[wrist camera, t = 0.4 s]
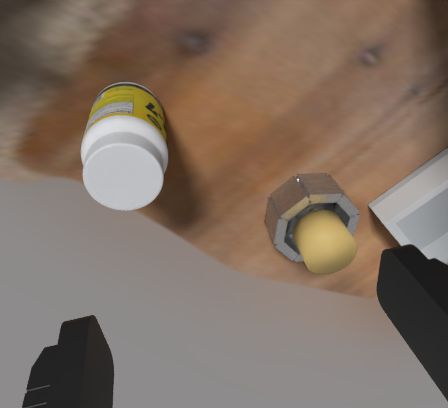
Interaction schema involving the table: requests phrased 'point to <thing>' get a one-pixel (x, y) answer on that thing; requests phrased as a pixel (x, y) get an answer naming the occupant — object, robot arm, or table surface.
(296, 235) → the yellow rounded lump
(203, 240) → the table surface
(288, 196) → the socket
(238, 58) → the table surface
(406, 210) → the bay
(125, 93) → the supplement bottle
